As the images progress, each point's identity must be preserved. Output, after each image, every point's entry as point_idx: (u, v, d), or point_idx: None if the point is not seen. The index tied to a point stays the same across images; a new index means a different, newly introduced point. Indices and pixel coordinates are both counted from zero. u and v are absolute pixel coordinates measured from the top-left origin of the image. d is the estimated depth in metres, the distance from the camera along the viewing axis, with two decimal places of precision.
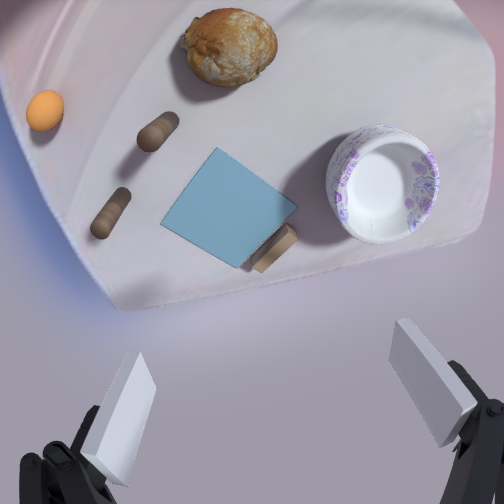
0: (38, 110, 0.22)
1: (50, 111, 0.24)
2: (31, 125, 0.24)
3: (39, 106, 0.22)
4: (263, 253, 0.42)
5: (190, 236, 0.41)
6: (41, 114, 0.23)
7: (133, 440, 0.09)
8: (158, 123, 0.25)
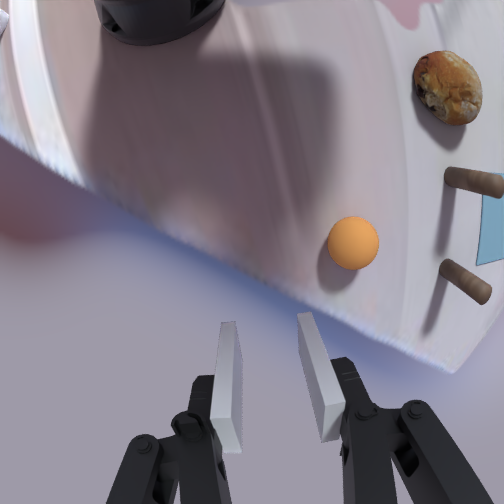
0: (366, 241, 0.25)
1: (375, 235, 0.26)
2: (361, 265, 0.26)
3: (364, 237, 0.25)
4: None
5: (494, 256, 0.32)
6: (372, 243, 0.26)
7: (240, 406, 0.11)
8: (486, 172, 0.21)
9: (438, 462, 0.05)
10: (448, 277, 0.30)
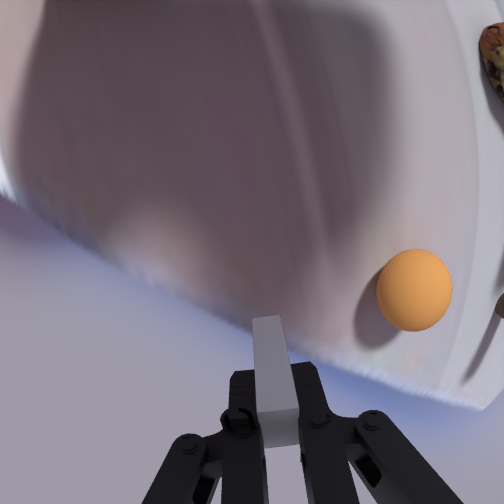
0: (442, 295, 0.14)
1: (451, 281, 0.14)
2: (426, 327, 0.15)
3: (439, 288, 0.14)
4: None
5: None
6: (447, 296, 0.14)
7: None
8: None
9: (401, 474, 0.05)
10: None
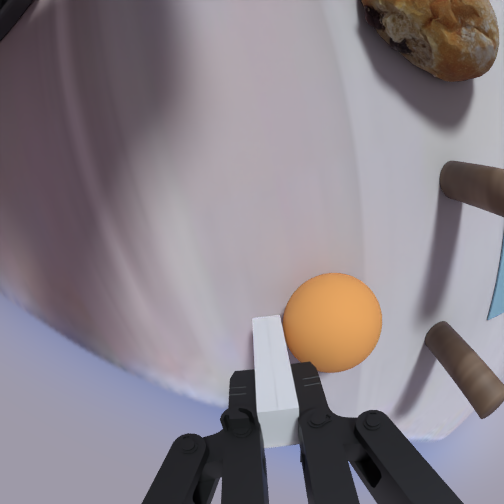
0: None
1: None
2: None
3: None
4: None
5: None
6: None
7: None
8: None
9: (401, 474, 0.05)
10: (438, 357, 0.17)
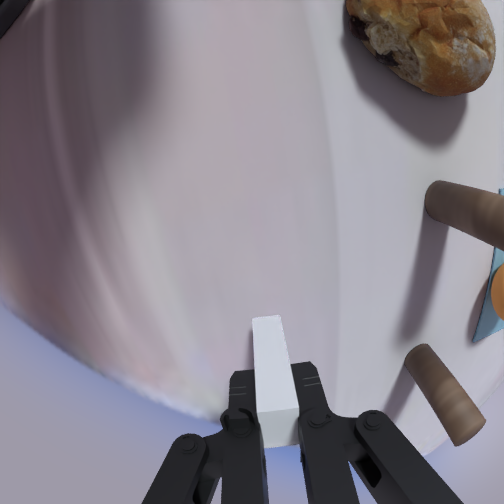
0: None
1: None
2: None
3: None
4: None
5: None
6: None
7: None
8: None
9: (401, 474, 0.05)
10: (416, 381, 0.17)
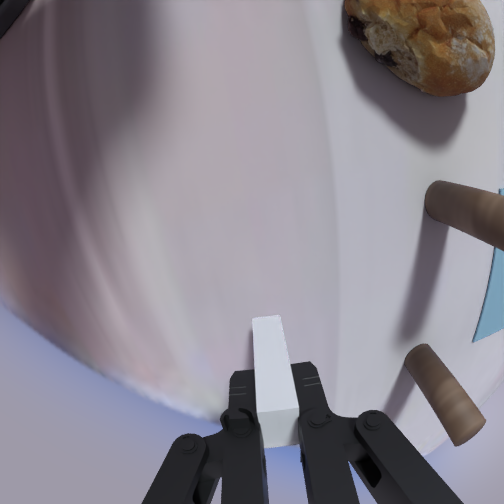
0: None
1: None
2: None
3: None
4: None
5: None
6: None
7: None
8: None
9: (401, 474, 0.05)
10: (416, 381, 0.17)
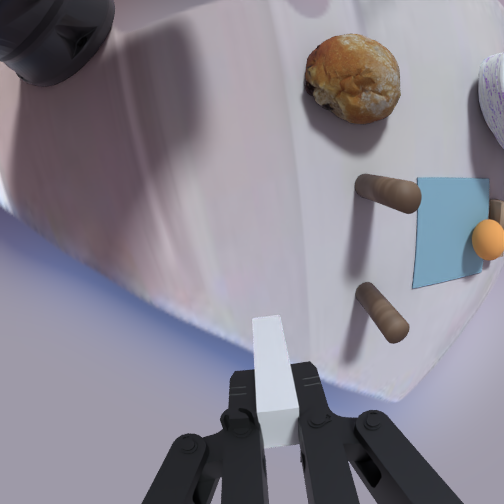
0: (501, 240, 0.25)
1: None
2: (495, 257, 0.26)
3: (499, 236, 0.25)
4: None
5: (440, 277, 0.31)
6: (503, 241, 0.25)
7: None
8: (394, 179, 0.21)
9: (401, 474, 0.05)
10: (362, 305, 0.30)
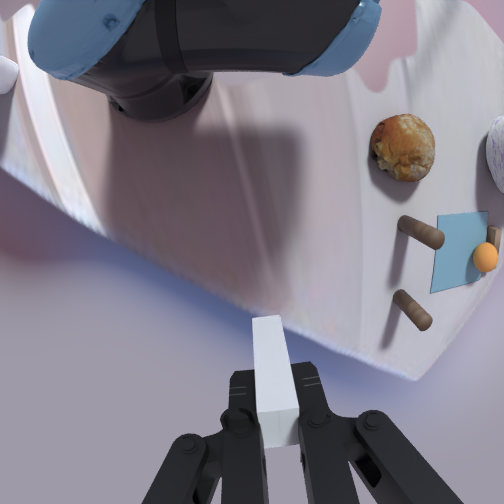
0: (494, 258, 0.35)
1: (497, 254, 0.36)
2: (489, 270, 0.37)
3: (493, 255, 0.35)
4: None
5: (450, 284, 0.42)
6: (496, 259, 0.35)
7: None
8: (428, 227, 0.31)
9: (401, 474, 0.05)
10: (399, 305, 0.41)
